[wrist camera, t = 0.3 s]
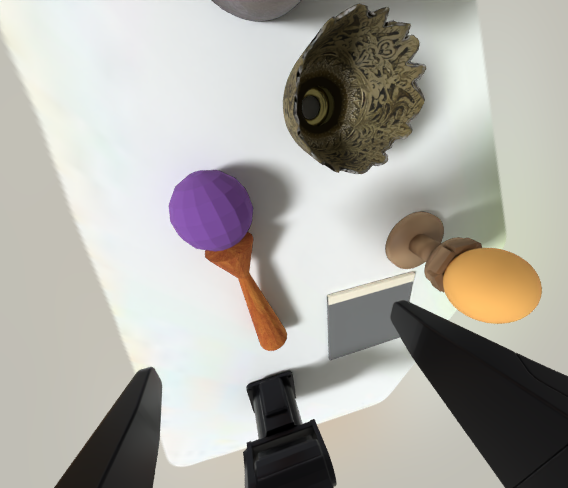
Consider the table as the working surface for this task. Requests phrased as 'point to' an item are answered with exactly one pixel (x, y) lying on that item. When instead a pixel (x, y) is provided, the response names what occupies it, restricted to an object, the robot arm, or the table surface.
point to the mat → (364, 314)
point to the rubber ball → (492, 285)
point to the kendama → (225, 239)
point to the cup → (355, 90)
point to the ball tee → (425, 246)
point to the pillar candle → (257, 8)
